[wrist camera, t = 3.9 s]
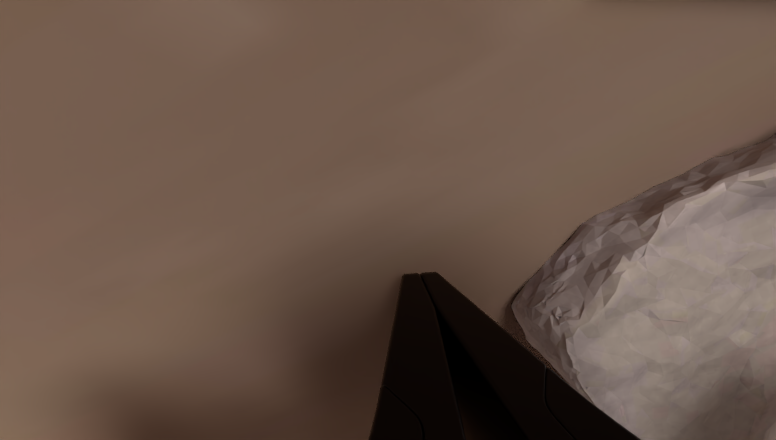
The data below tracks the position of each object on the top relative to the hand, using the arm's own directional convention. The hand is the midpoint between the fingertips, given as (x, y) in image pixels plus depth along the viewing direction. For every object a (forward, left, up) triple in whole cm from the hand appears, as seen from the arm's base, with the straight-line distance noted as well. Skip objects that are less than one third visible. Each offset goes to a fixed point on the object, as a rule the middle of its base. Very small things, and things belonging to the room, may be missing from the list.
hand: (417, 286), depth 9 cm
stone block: (-9, 0, -1) cm, 9 cm away
